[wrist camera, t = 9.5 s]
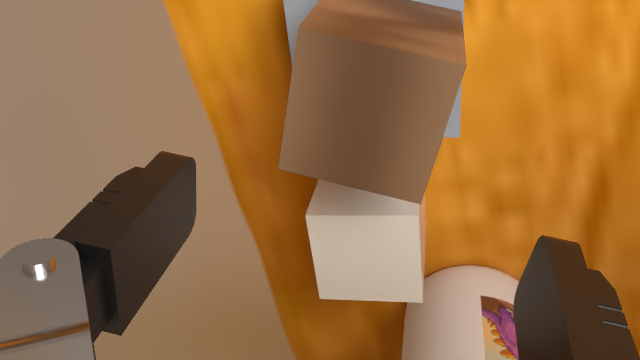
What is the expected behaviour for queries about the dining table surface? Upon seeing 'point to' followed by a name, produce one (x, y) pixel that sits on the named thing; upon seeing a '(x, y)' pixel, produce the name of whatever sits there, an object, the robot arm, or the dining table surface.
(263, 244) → the dining table surface
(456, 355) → the milk bottle
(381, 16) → the walnut block
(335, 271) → the beige block
